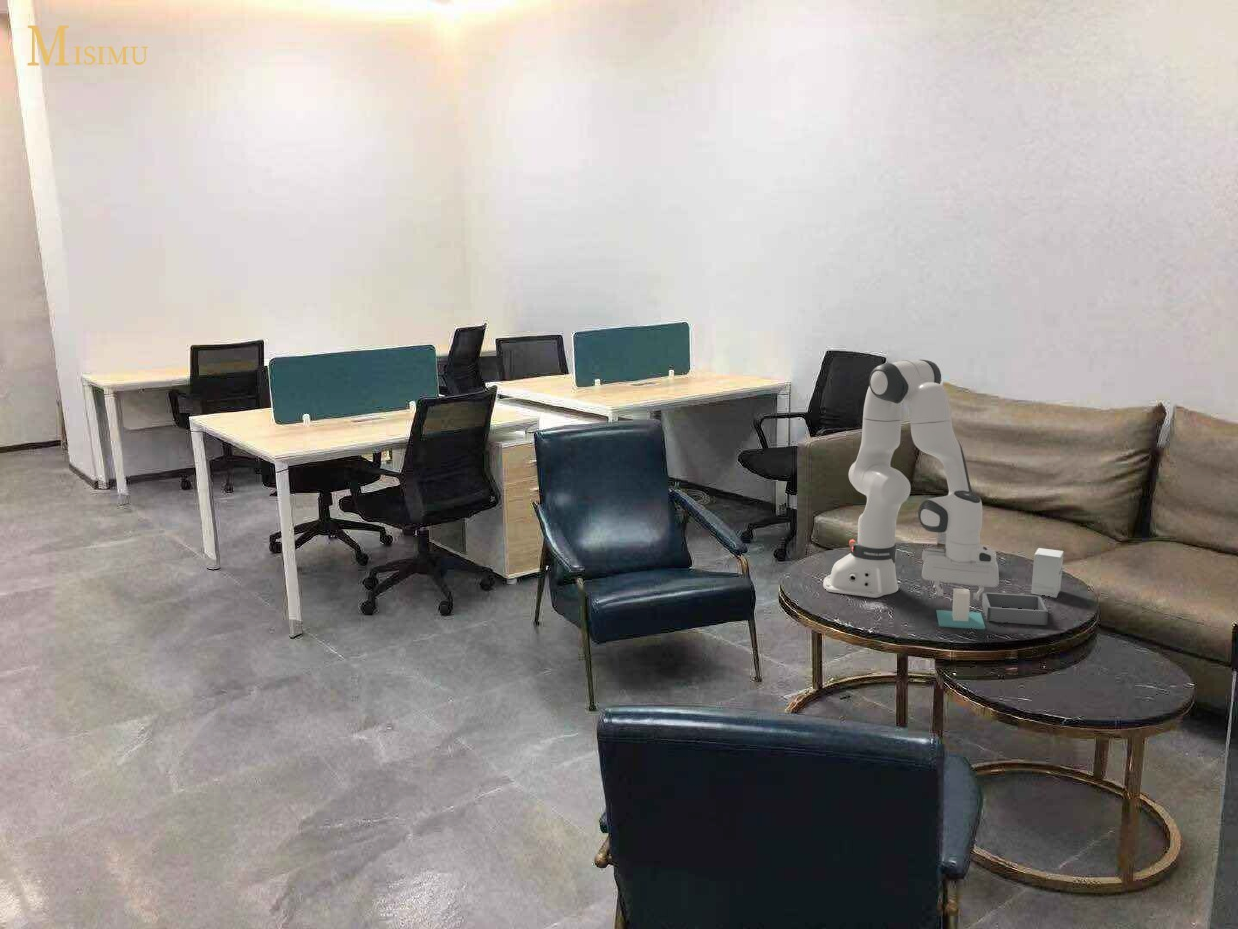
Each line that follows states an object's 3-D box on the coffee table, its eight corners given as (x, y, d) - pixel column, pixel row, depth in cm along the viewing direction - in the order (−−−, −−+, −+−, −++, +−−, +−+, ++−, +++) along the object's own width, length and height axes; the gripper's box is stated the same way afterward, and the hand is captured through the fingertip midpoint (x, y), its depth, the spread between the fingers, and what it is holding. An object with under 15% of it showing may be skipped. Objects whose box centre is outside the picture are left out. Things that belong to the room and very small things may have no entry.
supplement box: (1057, 598, 292) (1060, 557, 289) (1030, 594, 296) (1033, 553, 293) (1061, 590, 298) (1064, 550, 296) (1034, 586, 302) (1038, 547, 299)
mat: (939, 626, 273) (939, 624, 273) (936, 611, 284) (936, 610, 283) (985, 629, 270) (985, 627, 270) (980, 614, 281) (980, 612, 281)
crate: (987, 621, 276) (987, 607, 275) (981, 605, 288) (982, 592, 287) (1046, 625, 272) (1048, 611, 271) (1039, 608, 284) (1040, 595, 283)
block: (953, 620, 275) (954, 593, 274) (952, 615, 279) (953, 588, 277) (968, 621, 274) (970, 594, 273) (966, 616, 278) (968, 589, 276)
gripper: (922, 549, 272) (918, 597, 275) (1001, 557, 266) (997, 606, 269) (923, 543, 278) (919, 589, 281) (1000, 550, 271) (996, 598, 274)
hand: (957, 598), depth 275 cm, fingers open, 8 cm apart
